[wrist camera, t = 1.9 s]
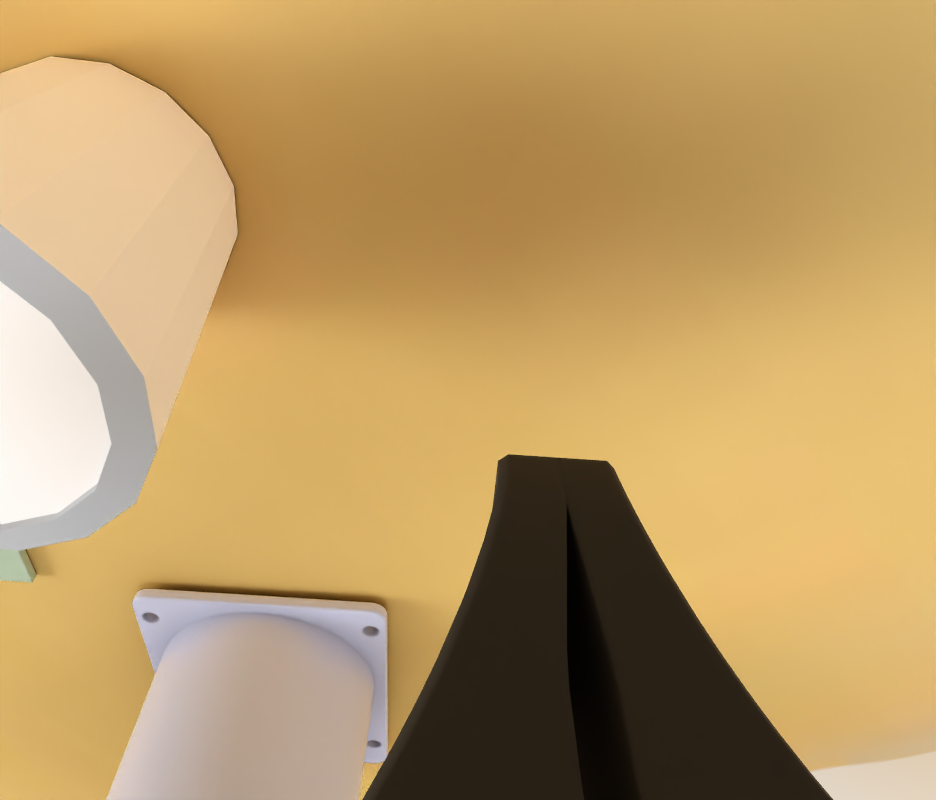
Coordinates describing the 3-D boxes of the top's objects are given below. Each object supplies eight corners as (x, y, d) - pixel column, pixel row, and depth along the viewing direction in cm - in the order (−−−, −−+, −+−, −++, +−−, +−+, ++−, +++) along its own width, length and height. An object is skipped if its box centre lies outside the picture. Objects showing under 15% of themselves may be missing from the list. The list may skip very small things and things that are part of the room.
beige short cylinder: (-141, 125, 16) (-487, 301, 10) (111, -54, 14) (-153, 47, 8) (101, 371, 19) (-57, 599, 14) (329, 260, 17) (250, 477, 12)
